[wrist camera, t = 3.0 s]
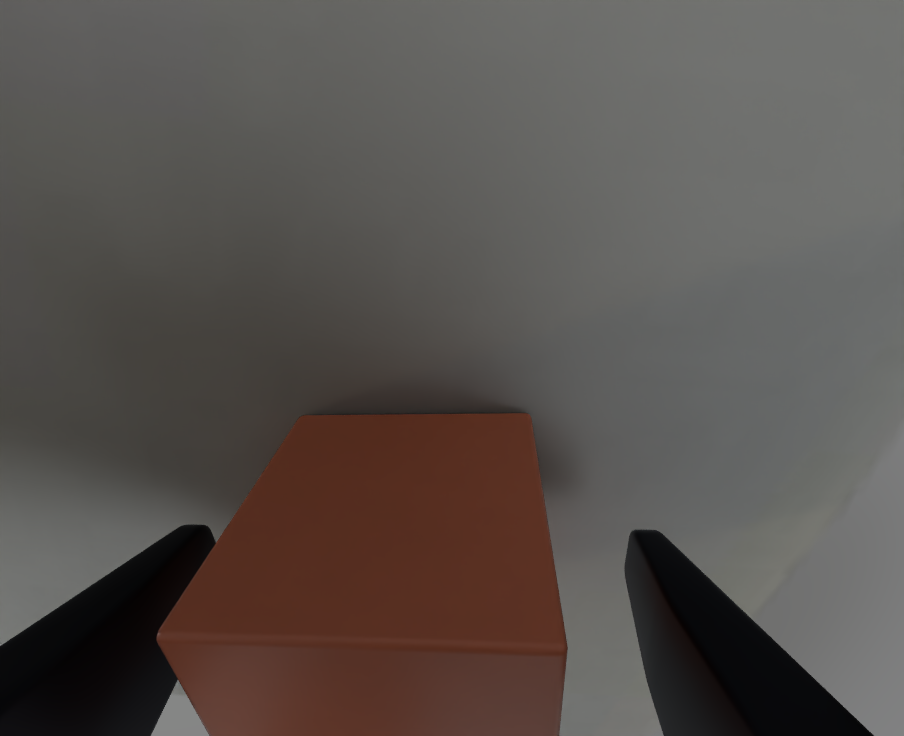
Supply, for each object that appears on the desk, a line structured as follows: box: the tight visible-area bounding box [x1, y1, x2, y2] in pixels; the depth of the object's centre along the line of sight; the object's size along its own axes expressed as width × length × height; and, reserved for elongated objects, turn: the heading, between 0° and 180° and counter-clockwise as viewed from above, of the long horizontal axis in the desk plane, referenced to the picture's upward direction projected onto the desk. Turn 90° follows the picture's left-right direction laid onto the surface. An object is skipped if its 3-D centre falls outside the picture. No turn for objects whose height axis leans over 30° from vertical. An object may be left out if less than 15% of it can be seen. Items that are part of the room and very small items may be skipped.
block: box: [157, 413, 568, 736], centre depth 7 cm, size 4×4×4 cm
